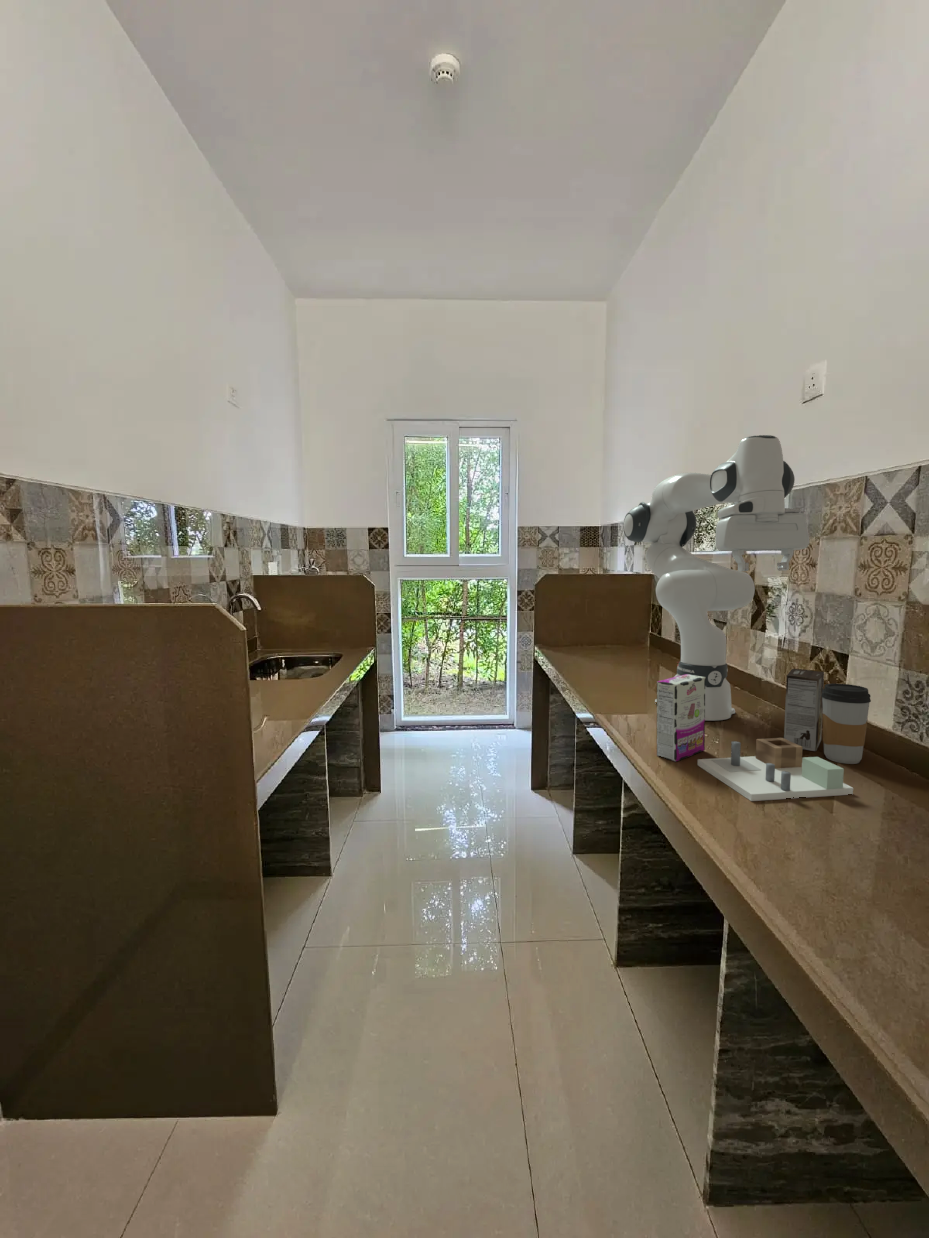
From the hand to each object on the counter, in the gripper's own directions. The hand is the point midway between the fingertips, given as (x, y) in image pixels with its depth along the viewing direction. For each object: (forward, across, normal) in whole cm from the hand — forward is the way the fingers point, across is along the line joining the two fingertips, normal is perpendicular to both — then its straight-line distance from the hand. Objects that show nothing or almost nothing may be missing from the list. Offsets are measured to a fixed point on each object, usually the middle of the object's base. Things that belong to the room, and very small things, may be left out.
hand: (763, 570), depth 119 cm
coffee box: (+39, -9, -1) cm, 40 cm away
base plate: (+41, +12, +16) cm, 45 cm away
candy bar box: (+39, +21, +1) cm, 45 cm away
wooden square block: (+39, +6, +12) cm, 41 cm away
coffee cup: (+40, -10, +9) cm, 42 cm away
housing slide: (+40, +6, +22) cm, 46 cm away
